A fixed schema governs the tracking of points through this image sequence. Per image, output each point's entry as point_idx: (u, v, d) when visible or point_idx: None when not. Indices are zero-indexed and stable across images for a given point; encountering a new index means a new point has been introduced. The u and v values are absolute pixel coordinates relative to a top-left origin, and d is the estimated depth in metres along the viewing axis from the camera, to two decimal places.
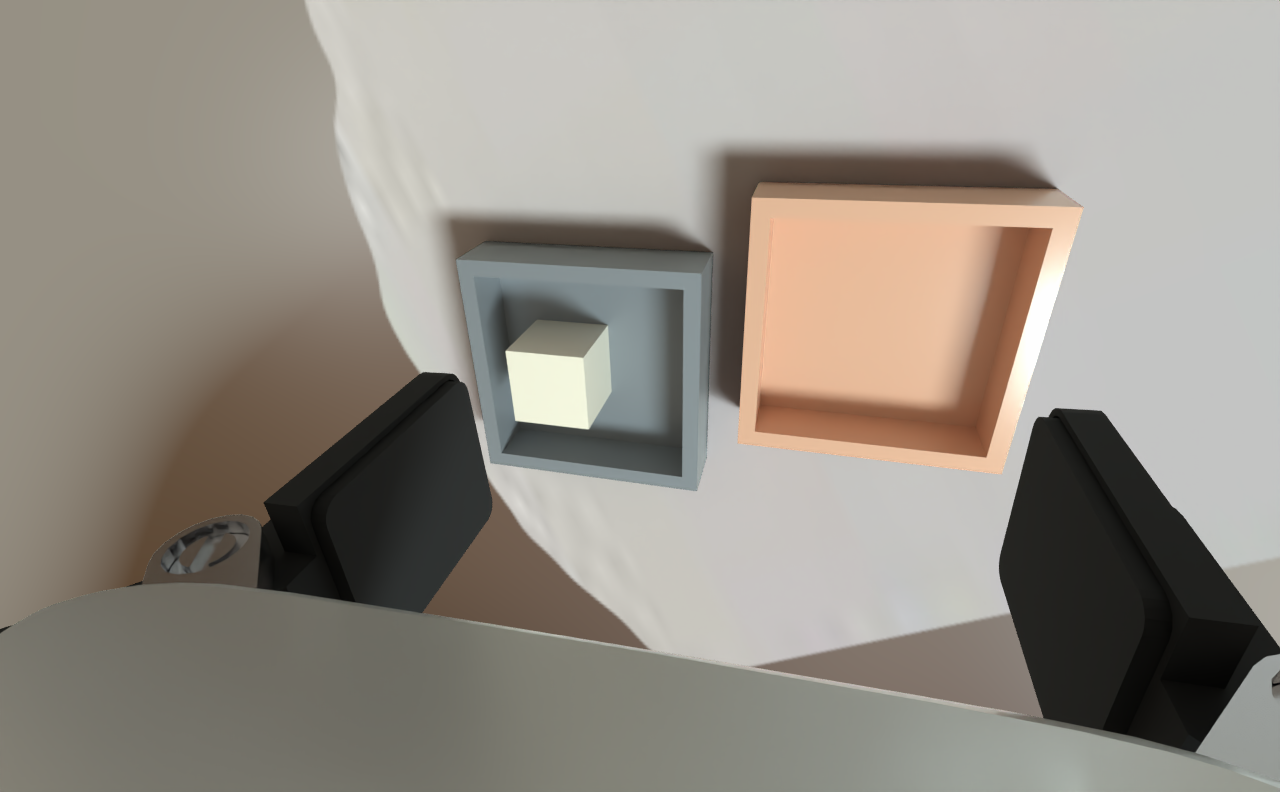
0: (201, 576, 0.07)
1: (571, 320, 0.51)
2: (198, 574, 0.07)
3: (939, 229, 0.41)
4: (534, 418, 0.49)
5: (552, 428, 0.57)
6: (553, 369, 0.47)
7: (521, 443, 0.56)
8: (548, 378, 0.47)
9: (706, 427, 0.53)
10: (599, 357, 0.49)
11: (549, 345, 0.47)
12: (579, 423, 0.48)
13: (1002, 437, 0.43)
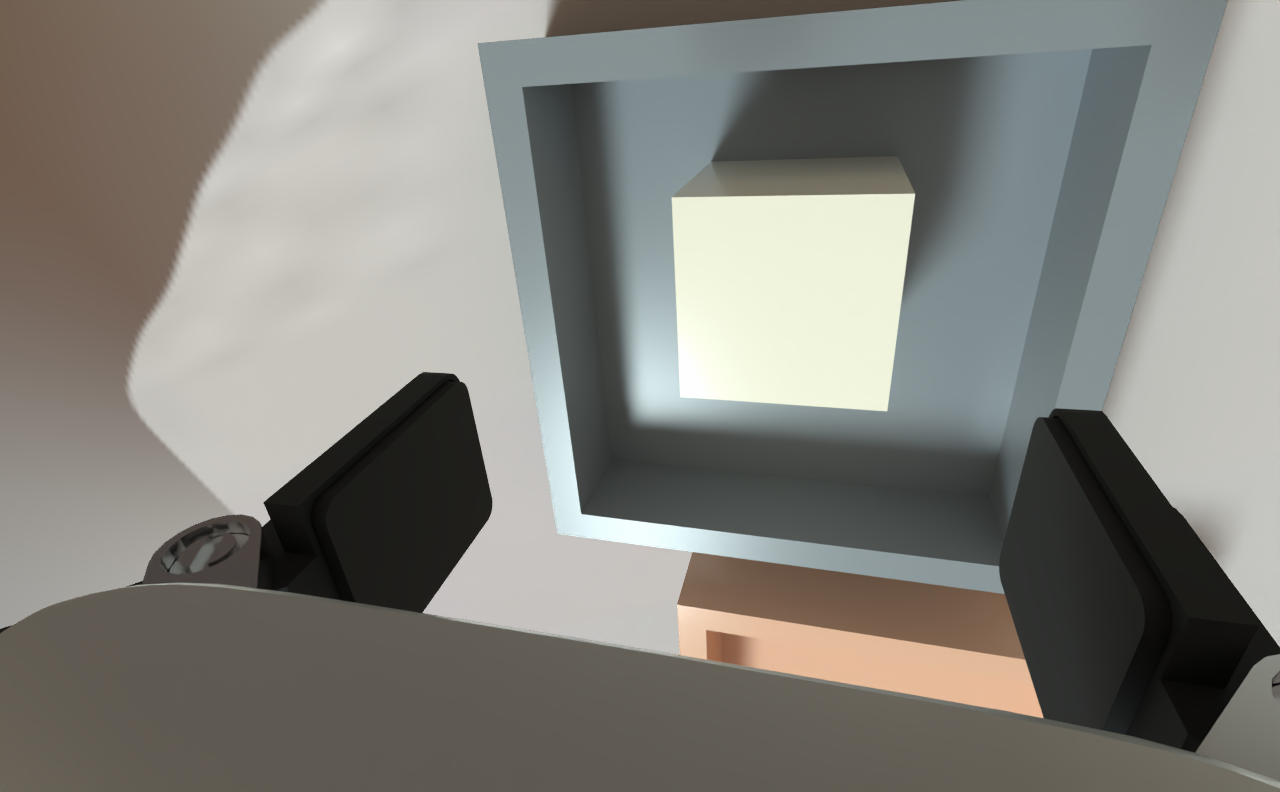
0: (201, 576, 0.07)
1: None
2: (198, 574, 0.07)
3: None
4: (689, 258, 0.18)
5: (592, 174, 0.23)
6: (850, 331, 0.17)
7: (550, 120, 0.21)
8: (822, 314, 0.17)
9: None
10: None
11: None
12: (693, 377, 0.19)
13: None
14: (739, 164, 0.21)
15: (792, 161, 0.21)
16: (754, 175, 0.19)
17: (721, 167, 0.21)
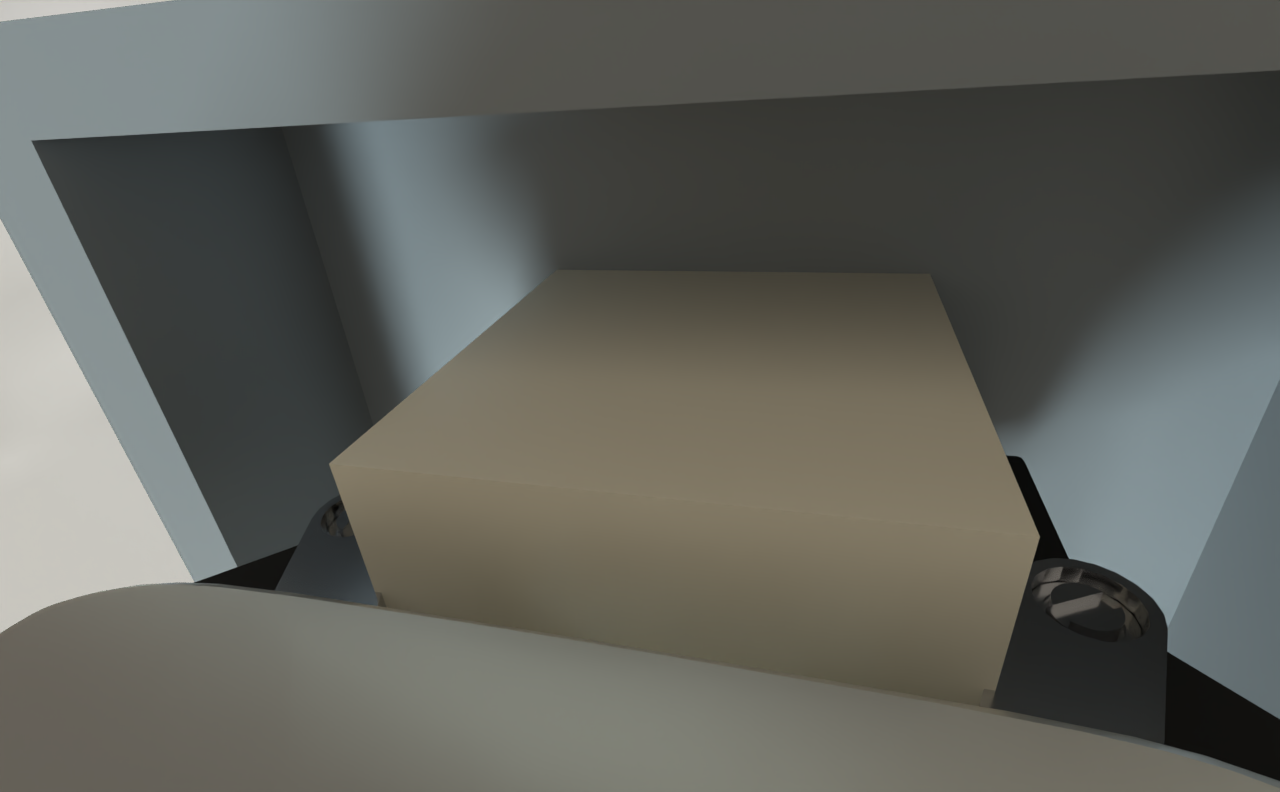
0: (349, 543, 0.08)
1: None
2: (346, 540, 0.08)
3: None
4: (408, 597, 0.07)
5: (347, 282, 0.12)
6: None
7: (190, 199, 0.10)
8: None
9: None
10: None
11: None
12: None
13: None
14: (602, 285, 0.10)
15: (710, 281, 0.10)
16: (606, 341, 0.08)
17: (560, 296, 0.10)
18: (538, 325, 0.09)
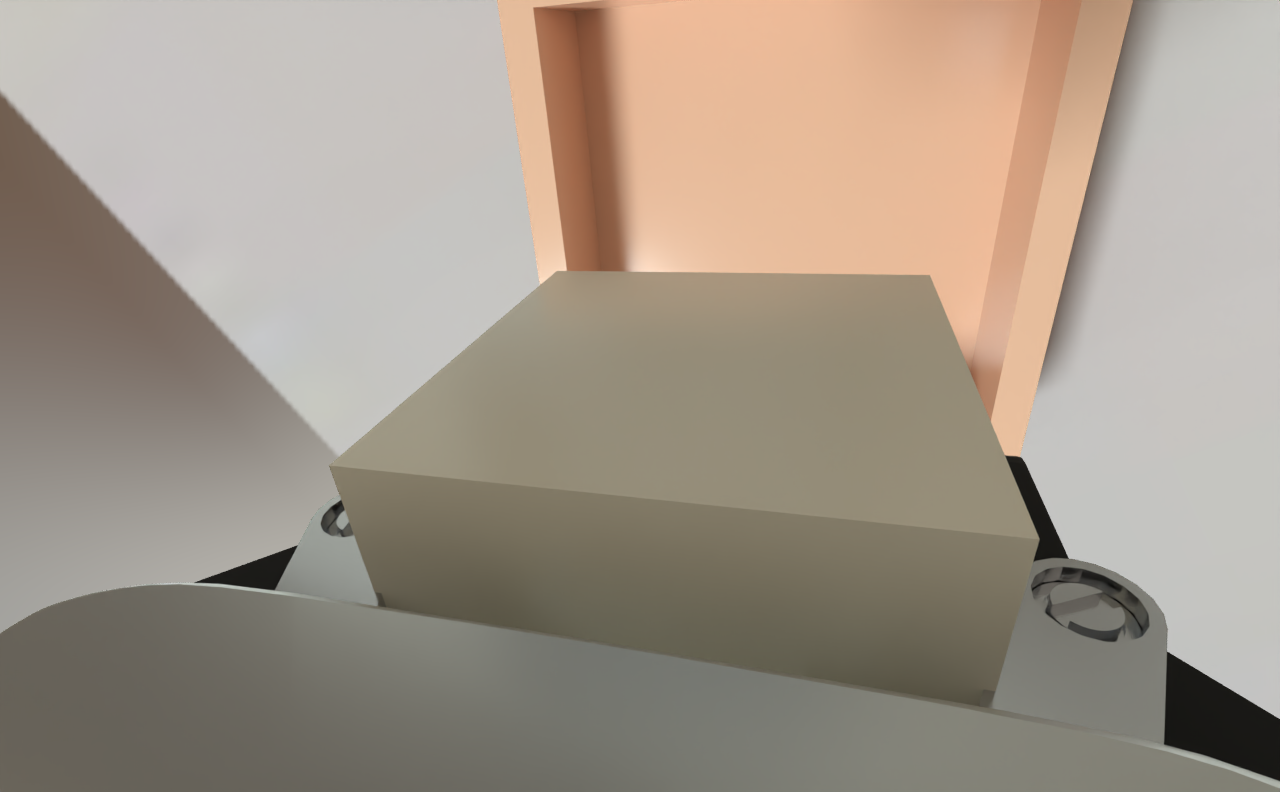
0: (349, 542, 0.08)
1: None
2: (346, 540, 0.08)
3: (948, 287, 0.25)
4: (409, 598, 0.07)
5: None
6: None
7: None
8: None
9: None
10: None
11: None
12: None
13: None
14: (602, 286, 0.10)
15: (710, 282, 0.10)
16: (606, 343, 0.08)
17: (560, 297, 0.10)
18: (538, 326, 0.09)
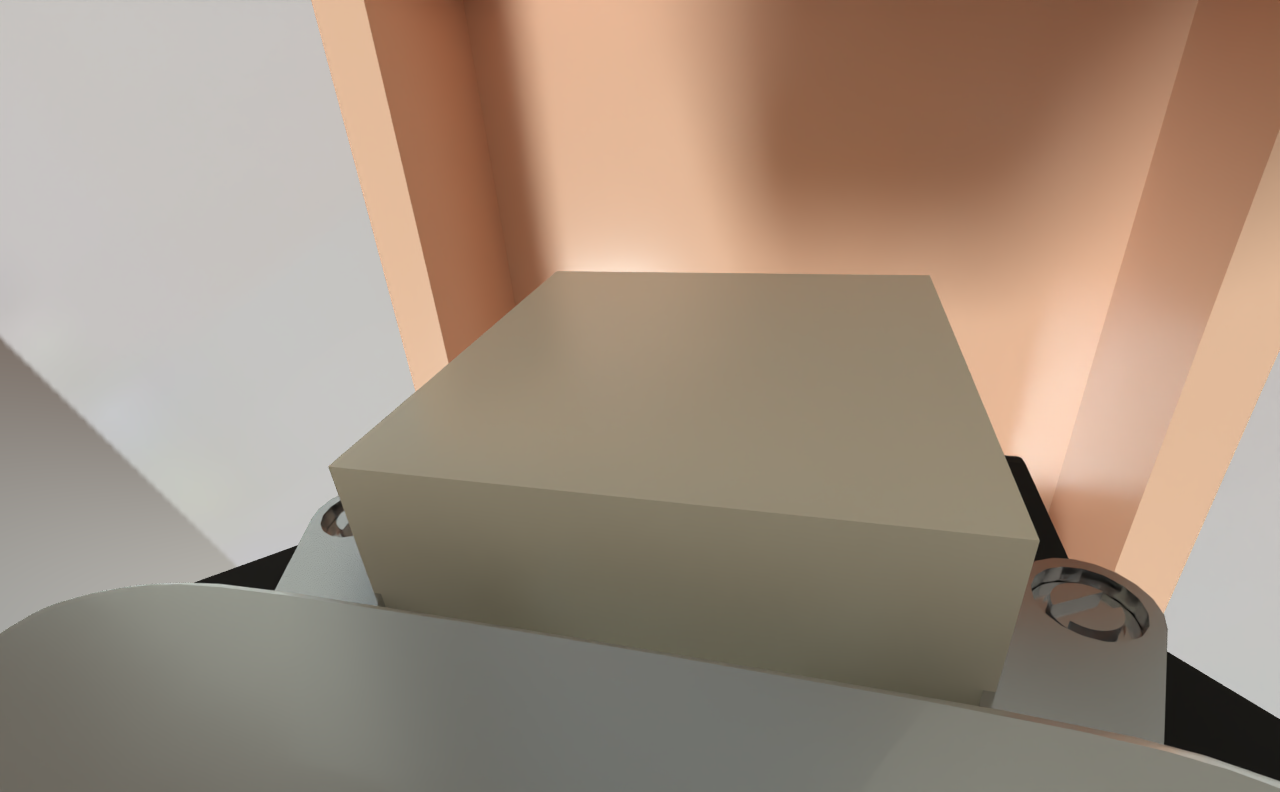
0: (348, 542, 0.08)
1: None
2: (346, 540, 0.08)
3: (1020, 402, 0.17)
4: (408, 599, 0.07)
5: None
6: None
7: None
8: None
9: None
10: None
11: None
12: None
13: None
14: (602, 287, 0.10)
15: (710, 282, 0.10)
16: (606, 343, 0.08)
17: (560, 297, 0.10)
18: (538, 327, 0.09)
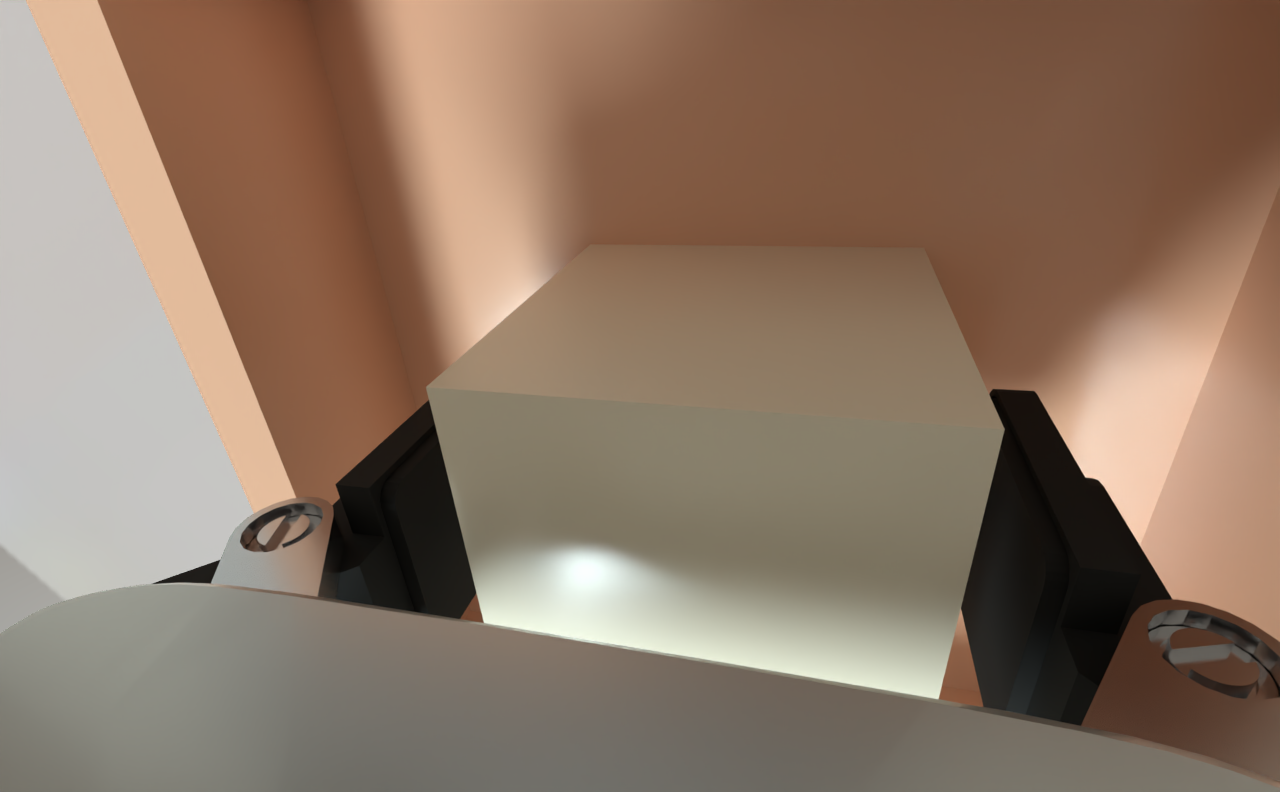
0: (274, 556, 0.08)
1: None
2: (272, 554, 0.08)
3: None
4: (484, 505, 0.08)
5: None
6: (836, 672, 0.08)
7: None
8: (774, 636, 0.08)
9: None
10: None
11: None
12: None
13: None
14: (633, 257, 0.11)
15: (730, 253, 0.11)
16: (644, 299, 0.10)
17: (597, 265, 0.11)
18: (582, 287, 0.10)
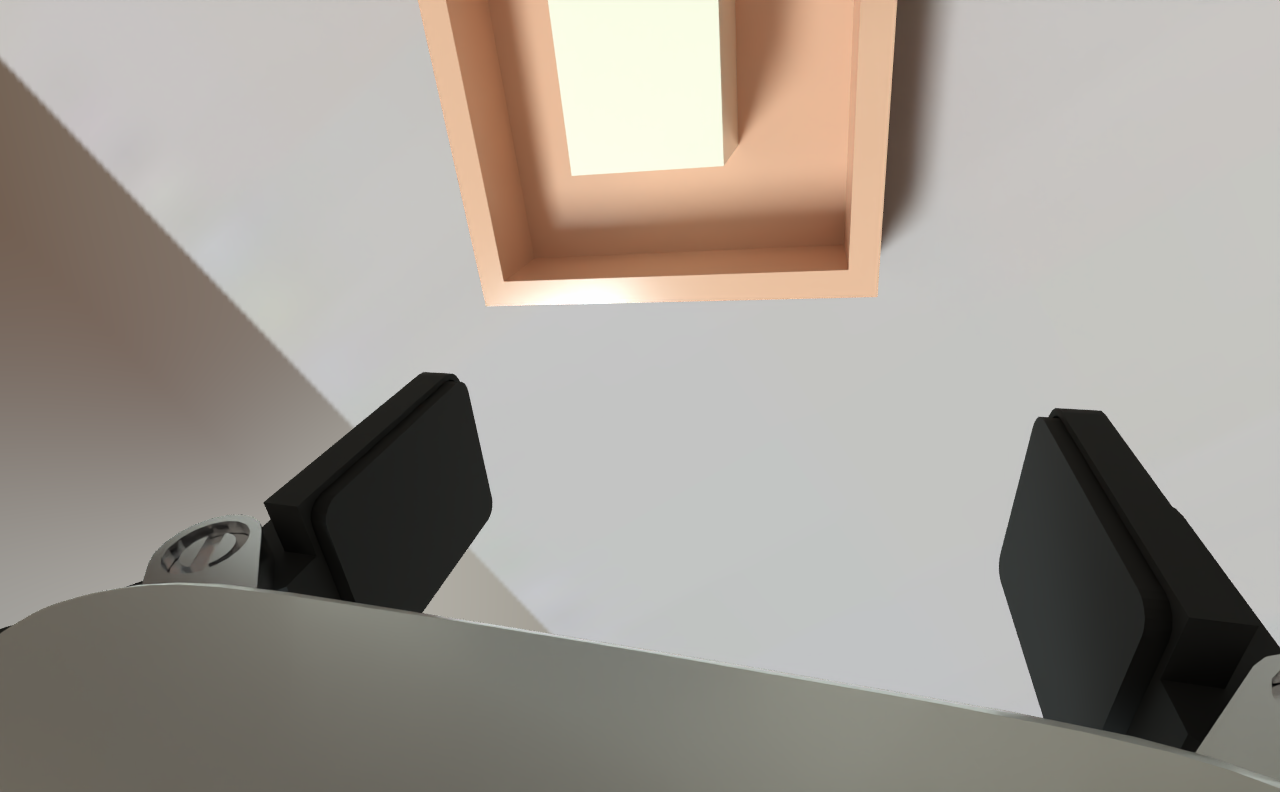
0: (201, 576, 0.07)
1: None
2: (198, 574, 0.07)
3: (816, 129, 0.28)
4: (565, 50, 0.23)
5: None
6: (688, 98, 0.23)
7: None
8: (666, 86, 0.23)
9: None
10: None
11: (725, 69, 0.24)
12: (579, 156, 0.25)
13: (539, 292, 0.30)
14: None
15: None
16: None
17: None
18: None
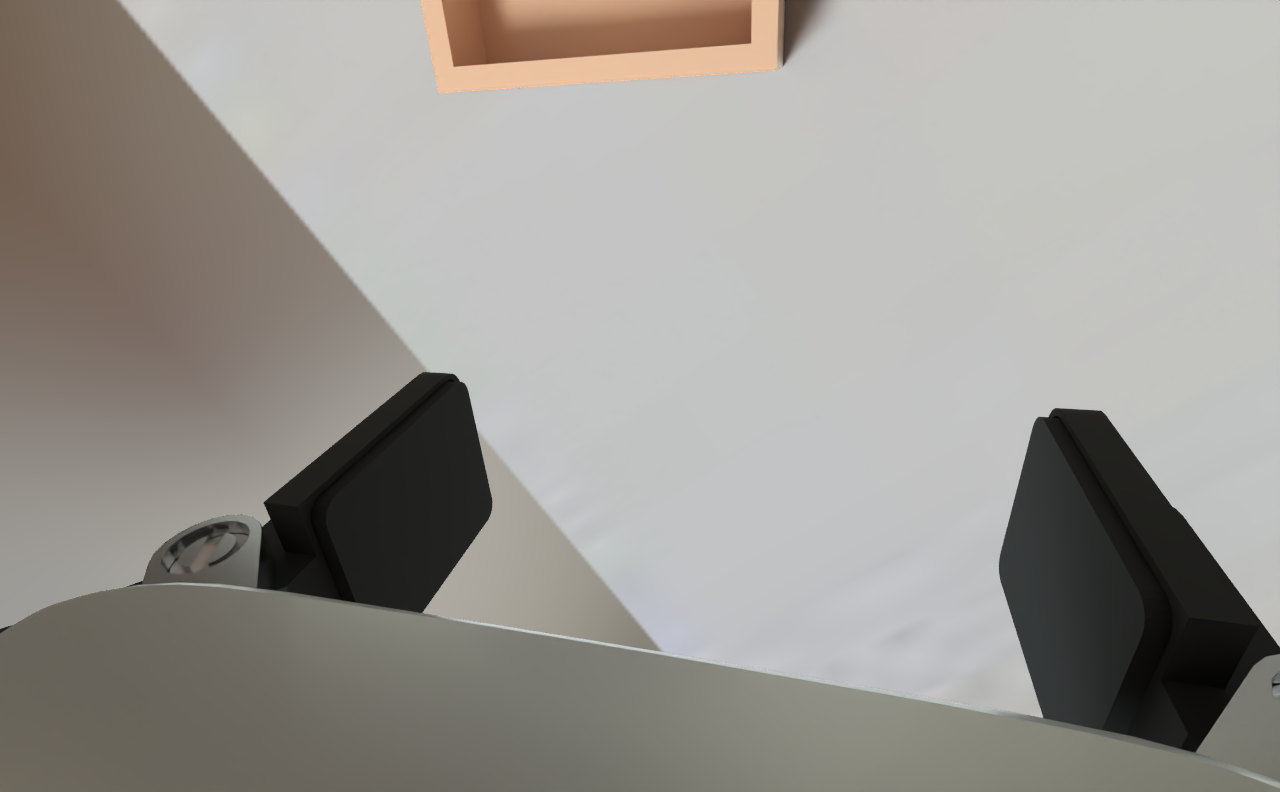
0: (201, 576, 0.07)
1: None
2: (198, 574, 0.07)
3: None
4: None
5: None
6: None
7: None
8: None
9: None
10: None
11: None
12: None
13: (485, 77, 0.34)
14: None
15: None
16: None
17: None
18: None
